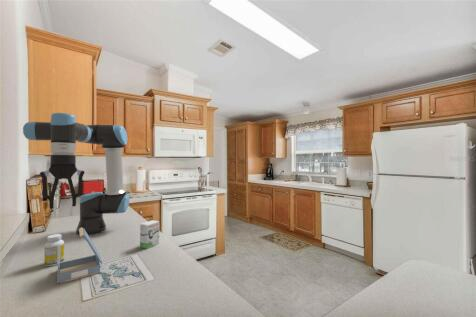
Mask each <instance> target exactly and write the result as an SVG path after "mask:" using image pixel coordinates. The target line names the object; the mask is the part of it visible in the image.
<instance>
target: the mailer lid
mask: <svg viewBox="0 0 476 317" xmlns="http://www.w3.org/2000/svg"><path fill="white" fill-rule="evenodd" d="M79 233H80V235H79V237H80V238H82V237H84V239H85V241H86V243H87V244H88V246H89V247H90V248H91V251H92V252H93V255H96V257H97V258H98V260H99V263H100V265H102V264H103V261H102V258H101V254H100V252H99V251H98V249H97V247H96V246H95V244H94V242H93V241H92V239H91V238H90V235H88V234H87V233H86V231H85V229H84V228H82V227H81V228H80V229H79Z"/></svg>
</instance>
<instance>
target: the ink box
mask: <svg viewBox="0 0 476 317" xmlns="http://www.w3.org/2000/svg"><path fill="white" fill-rule="evenodd" d="M139 225H140V226H139V248H142V249H149V248H151V247H153V246H156V245H158V244H160V221H159V220H152V219H151V220H148V221H146V222H141V223H140V224H139Z"/></svg>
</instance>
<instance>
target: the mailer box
mask: <svg viewBox="0 0 476 317" xmlns="http://www.w3.org/2000/svg"><path fill="white" fill-rule="evenodd" d="M100 273H101V263H100V262H99V260H98V258H97V257H96V255H95V254H93V255H89V256H85V257H80V258H75V259H70V260H64V261H63V262H60V263H58V264H57V273H56V275H57V277H56V279H57V280H56V282H57V283H56V284H57V285H58V284H63V283H66V282H70V281H73V280H78V279H81V278H85V277H89V276H93V275H96V274H100Z"/></svg>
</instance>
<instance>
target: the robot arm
mask: <svg viewBox="0 0 476 317" xmlns="http://www.w3.org/2000/svg"><path fill="white" fill-rule="evenodd" d="M22 134H23V136H24V137H25V139H27V140H30V141H50V154H51V155H50V167H49V168H48V169H46V170H45V171H41V172H39V175H40V177H41V179H42V180H41V181H42V182H41V183H42V198H43V199H44V200H48V201H49V202H48V203H49V206H48V207H49V209H52V210H53V211H52V212H53V214H52V216H53V219H56V218H57V198H55V196H56V192H57V188H58V184H59V180H63V179H64V180H67V182H68V187H69V189H70V190H69V191H70V193H71V197H69V216H70V217H73V207H76V206H77V198H78V197H80V199H79V221H78V225H77V227H76V228H75V229H76V230H75V234H76V235H77V234H78V236H80V233H79V229H80V228H81V227H82V228H84V229H85V231H86V233H87V234H88V236H90V234H91V235H96V233H97V234H100V233H102V231H103V232H104V230H105V231H106V230H107V225H106V223H105V219H104V217H103V216H104V215H105V214H109V215H110V214H117V215H118V214H122V213H126V211H127V210H128V208H129V206H130V205H129V204H130V200H131V198H130V197H131V196H130V194H129V193H127V191H126V189H125V188H124V180H123V179H124V178H123V175H124V174H123V156H122V155H123V154H122V153H123V152H122V151H123V150H124V149H125V145H127V144H128V133H127V130H126V128H125V127H124V126H123V125H119V124H118V125H117V124H84V123H80V122H79V123H78V122H77V118H76V115H74V114H71V113H66V112H53V113H51V115H50V122H46V121H28V122H26V123H25V124H24V125H23V127H22ZM76 142H77V143H83V144H91V145H100V146H101V147H102V148H101V149H102V150H104V151H105V152H104V153H105V168H106V169H105V172H106V191H105V192H104V193H103V192H102V191H98V192H97V191H95V192H92V193H91V192H90V193H86V194H82V192H83V177H84V175H85V171H84V170H82V169H78V168H77V166H76V164H77V162H76V155H75V154H77V152H76V148H77V147H76V146H77V144H76ZM49 173H50V174H51V175H52V176H53V177H54V180H53V183H52V188H51V190H50V195H49V193H48V191H49V190H48V188H49V187H48V177H49ZM75 173H76V175H77V176H78V178H77V179H78V182H77V183H78V184H77V193H76V190H75V187H74V184H73V178H72V177H73V176H74V175H75Z"/></svg>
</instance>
